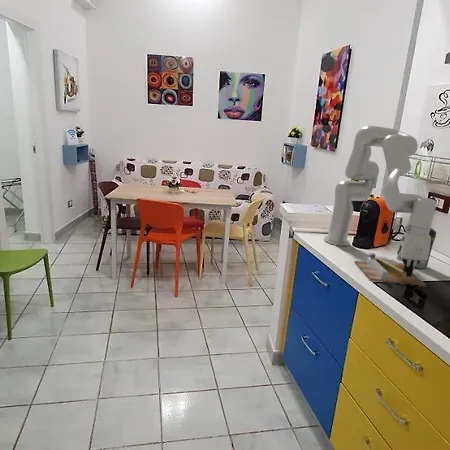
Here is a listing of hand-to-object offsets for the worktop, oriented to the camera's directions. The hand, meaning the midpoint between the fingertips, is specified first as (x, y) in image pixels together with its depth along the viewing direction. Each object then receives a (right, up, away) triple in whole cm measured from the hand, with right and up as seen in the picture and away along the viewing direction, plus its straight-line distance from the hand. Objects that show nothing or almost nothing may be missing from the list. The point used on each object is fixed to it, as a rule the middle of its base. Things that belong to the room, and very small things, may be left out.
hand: (406, 275), depth 138 cm
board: (-4, -1, +6) cm, 8 cm away
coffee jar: (+15, +1, +21) cm, 26 cm away
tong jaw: (-5, 0, +5) cm, 7 cm away
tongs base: (-10, +1, +5) cm, 11 cm away
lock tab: (+2, 0, +7) cm, 7 cm away
